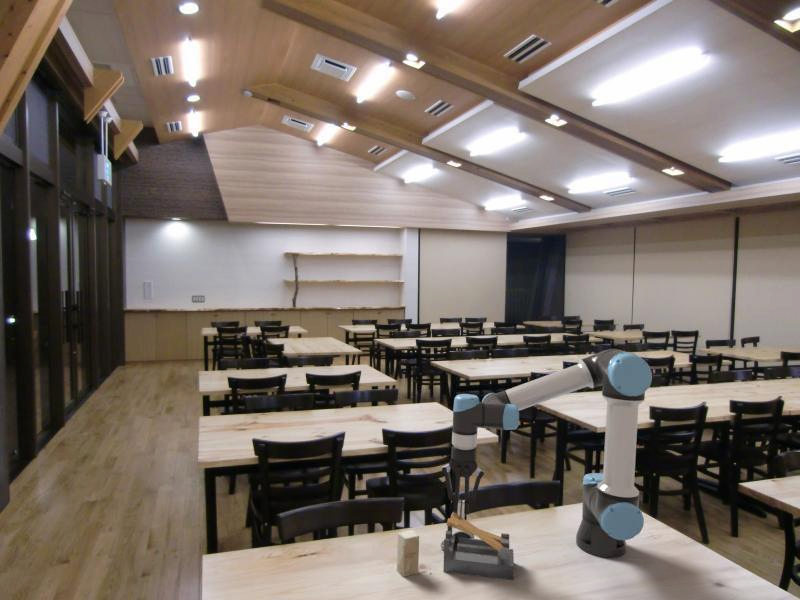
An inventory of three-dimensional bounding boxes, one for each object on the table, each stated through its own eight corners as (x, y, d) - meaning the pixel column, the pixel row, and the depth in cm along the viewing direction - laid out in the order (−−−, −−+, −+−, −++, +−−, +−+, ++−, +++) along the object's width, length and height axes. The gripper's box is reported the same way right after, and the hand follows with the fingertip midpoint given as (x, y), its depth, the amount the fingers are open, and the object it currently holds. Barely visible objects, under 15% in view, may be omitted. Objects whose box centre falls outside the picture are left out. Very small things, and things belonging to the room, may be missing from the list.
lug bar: (455, 543, 163) (455, 525, 163) (452, 559, 153) (452, 540, 153) (447, 542, 163) (447, 524, 163) (443, 558, 153) (444, 539, 153)
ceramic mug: (474, 545, 170) (474, 521, 170) (473, 557, 162) (473, 532, 162) (441, 542, 172) (441, 519, 171) (439, 555, 163) (439, 530, 163)
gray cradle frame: (513, 562, 159) (513, 534, 159) (513, 580, 149) (514, 550, 149) (447, 554, 163) (447, 527, 163) (443, 571, 153) (444, 542, 153)
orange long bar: (507, 544, 158) (508, 538, 158) (507, 548, 156) (508, 542, 156) (447, 522, 162) (448, 517, 162) (446, 525, 160) (447, 520, 159)
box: (403, 577, 150) (403, 539, 150) (396, 570, 154) (396, 532, 154) (419, 573, 153) (419, 535, 152) (412, 565, 156) (412, 529, 156)
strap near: (506, 553, 153) (509, 548, 153) (506, 557, 151) (509, 552, 151) (450, 515, 156) (453, 510, 156) (449, 519, 154) (453, 514, 154)
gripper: (487, 444, 162) (483, 520, 162) (443, 440, 164) (439, 514, 165) (486, 452, 154) (482, 531, 155) (440, 447, 157) (436, 525, 158)
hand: (460, 522), depth 160 cm, fingers closed
